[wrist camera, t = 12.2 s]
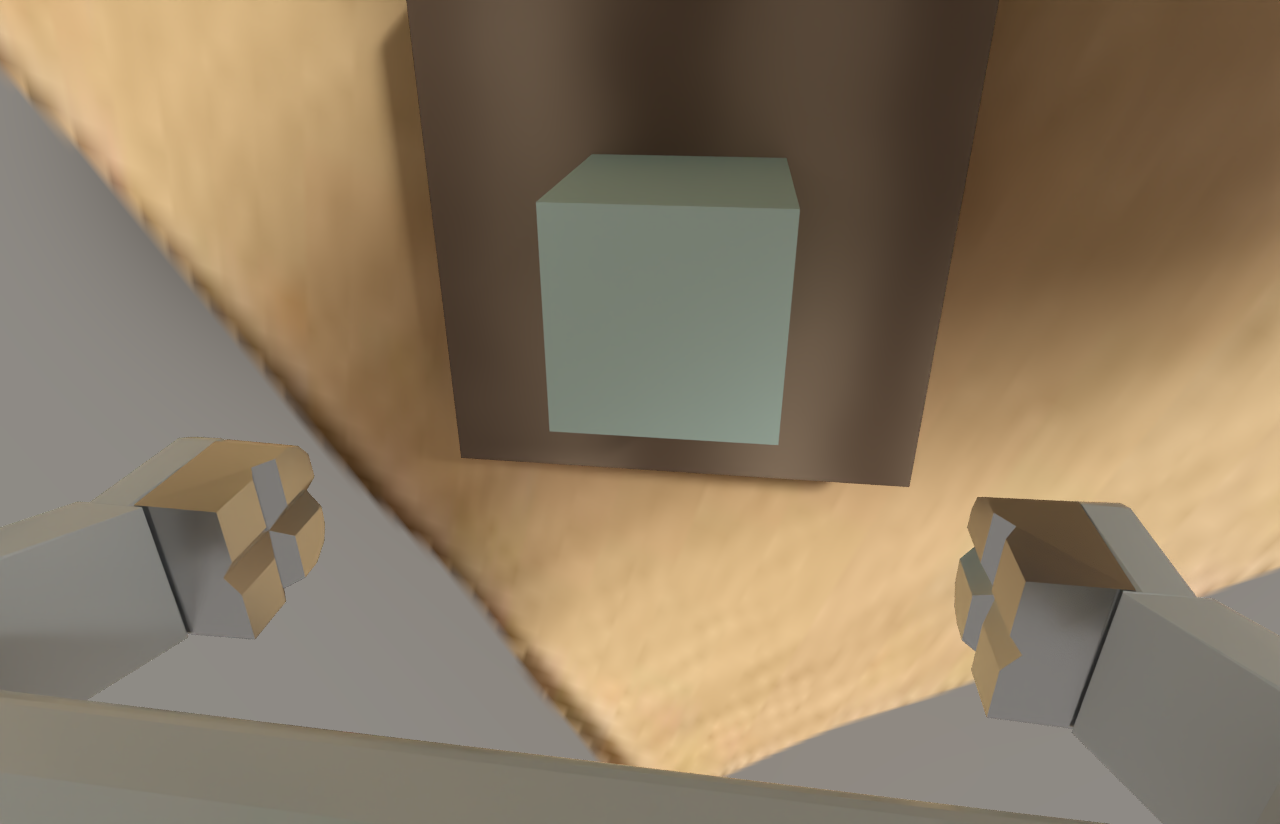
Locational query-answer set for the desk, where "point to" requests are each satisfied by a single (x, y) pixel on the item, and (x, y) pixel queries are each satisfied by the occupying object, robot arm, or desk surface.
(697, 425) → the sage block
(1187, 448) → the desk surface
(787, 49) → the walnut base
